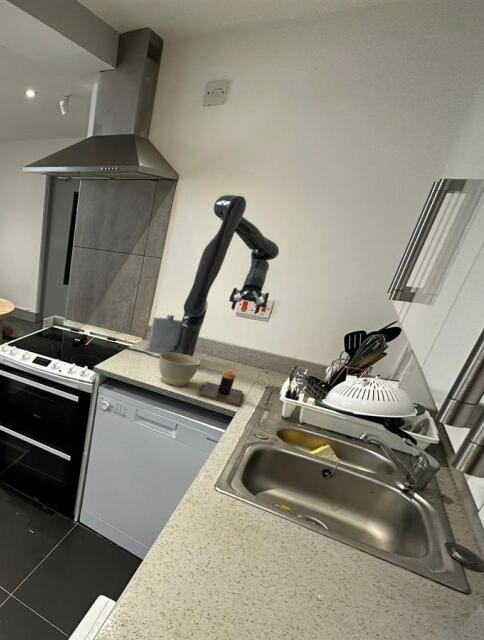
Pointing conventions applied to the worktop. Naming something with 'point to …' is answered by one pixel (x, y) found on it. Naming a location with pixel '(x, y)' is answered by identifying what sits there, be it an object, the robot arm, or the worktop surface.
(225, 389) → the battery
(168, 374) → the planter bowl
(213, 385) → the walnut board
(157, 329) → the hip flask
